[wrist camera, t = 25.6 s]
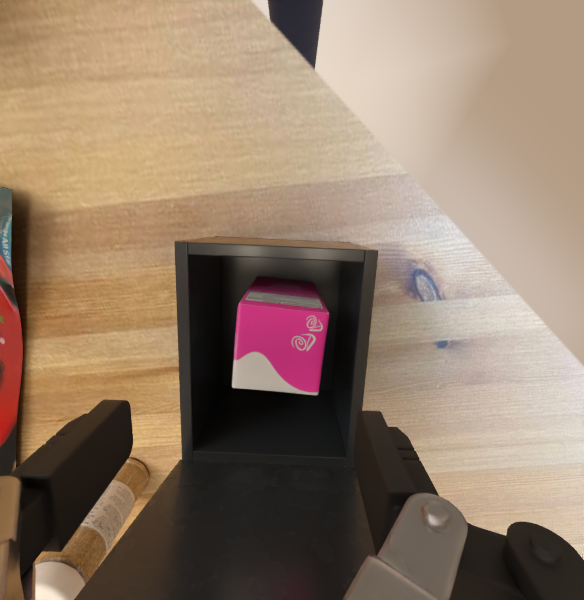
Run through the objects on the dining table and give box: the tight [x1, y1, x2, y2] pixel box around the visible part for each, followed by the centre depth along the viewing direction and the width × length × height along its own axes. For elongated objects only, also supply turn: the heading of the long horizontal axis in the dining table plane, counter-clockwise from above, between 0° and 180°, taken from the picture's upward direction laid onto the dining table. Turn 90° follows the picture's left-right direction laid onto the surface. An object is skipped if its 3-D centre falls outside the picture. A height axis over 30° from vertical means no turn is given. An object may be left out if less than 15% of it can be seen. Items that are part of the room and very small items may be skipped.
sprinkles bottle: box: [35, 458, 149, 600], centre depth 30 cm, size 5×5×14 cm
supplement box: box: [232, 276, 329, 395], centre depth 26 cm, size 6×6×12 cm
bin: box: [175, 236, 378, 467], centre depth 27 cm, size 16×13×11 cm
